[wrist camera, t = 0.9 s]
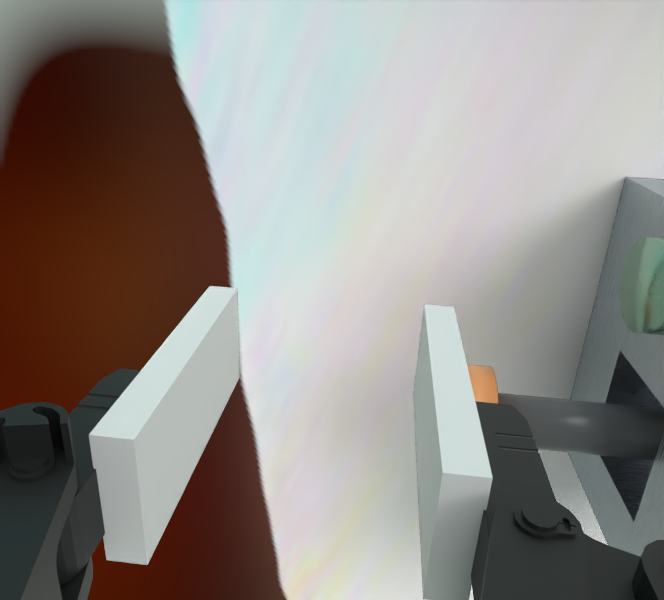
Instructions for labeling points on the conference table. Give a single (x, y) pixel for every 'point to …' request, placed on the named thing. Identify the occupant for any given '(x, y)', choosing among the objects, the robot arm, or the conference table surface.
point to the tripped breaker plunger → (579, 421)
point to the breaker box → (627, 367)
